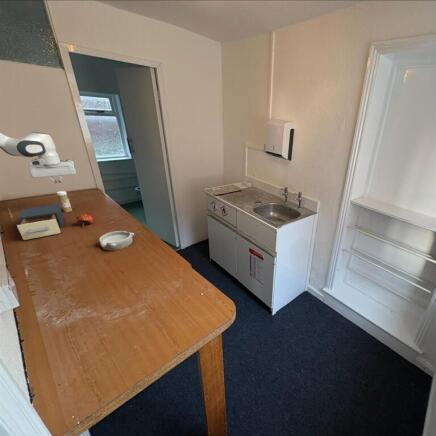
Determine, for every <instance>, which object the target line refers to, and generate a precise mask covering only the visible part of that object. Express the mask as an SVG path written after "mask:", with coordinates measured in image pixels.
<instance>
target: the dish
mask: <svg viewBox="0 0 436 436" xmlns="http://www.w3.org/2000/svg"><path fill="white" fill-rule="evenodd" d="M133 237H135V233H134V232H130V231H126V230H116V231H115V230H114V231H110V232H106V233H104V234H102V235H101V236H100V237H99V238H98V242H99V244H100V246H101V249H103V250H105V251H108V252H110V251H111V252H113V251H120V250H123V249H125V248H128V247H129V246H130V245H132V243H133V241H134V240H133Z"/></svg>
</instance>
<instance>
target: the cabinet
mask: <svg viewBox="0 0 436 436" xmlns="http://www.w3.org/2000/svg"><path fill="white" fill-rule="evenodd" d="M62 211H63V210H62V208H61V205H60V203H56V204H47V205H41V206H40V205H39V206H33V207H25V208H22V209H21V211H20V213H19V215H18V217H17V220H18V222H19V225H21V222H22V220H23V219H25V218H31V217H38V216H44V215H51V214H56V216H57V218H58V221H59V229H62V228H64V223H65V217H64V215H63V214H64V213H63V212H62Z"/></svg>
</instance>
